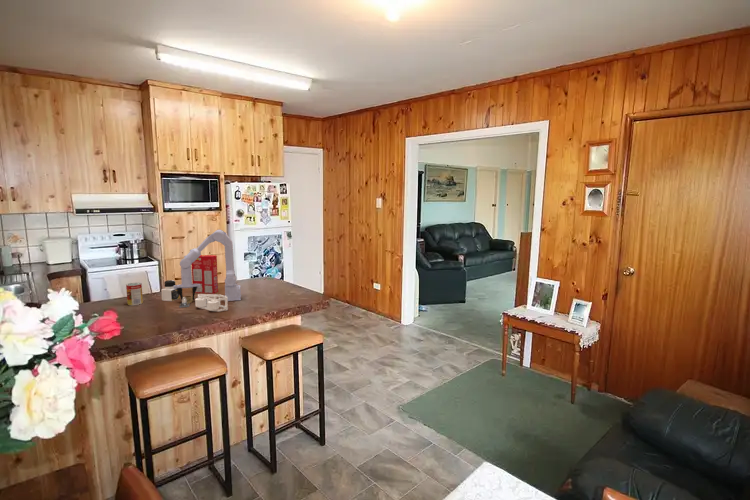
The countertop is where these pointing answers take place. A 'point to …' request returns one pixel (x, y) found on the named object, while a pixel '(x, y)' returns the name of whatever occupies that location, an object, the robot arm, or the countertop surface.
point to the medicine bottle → (169, 291)
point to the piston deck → (184, 303)
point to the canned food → (134, 293)
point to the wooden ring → (189, 298)
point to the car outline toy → (211, 302)
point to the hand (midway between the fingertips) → (187, 299)
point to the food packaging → (205, 274)
